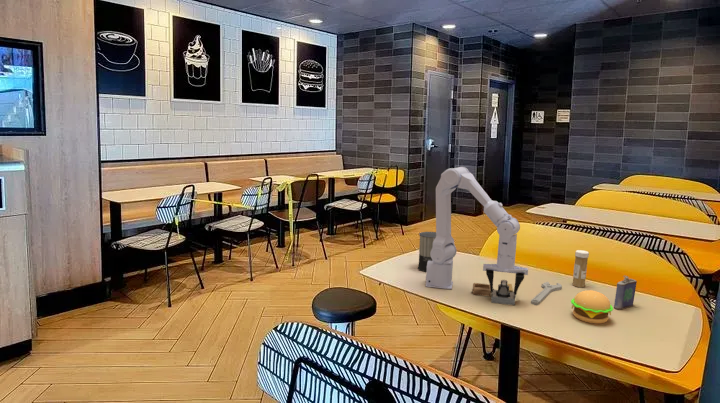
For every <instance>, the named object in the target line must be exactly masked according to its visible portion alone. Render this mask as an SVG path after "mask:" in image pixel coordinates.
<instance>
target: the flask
mask: <svg viewBox="0 0 720 403" xmlns="http://www.w3.org/2000/svg"><path fill="white" fill-rule="evenodd" d="M622 277H623V280H621V281H618V282H617V283H616V288H615V289H616V290H615V298H614V303H613V304H614V305H613V309H615V310H624V309H627V308H630V307H634V300H635V296H636V288H637V284H638V283H637V280H636V279H633V278H629V276H627V275H623V276H622Z"/></svg>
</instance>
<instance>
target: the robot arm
mask: <svg viewBox="0 0 720 403" xmlns="http://www.w3.org/2000/svg"><path fill="white" fill-rule="evenodd" d="M457 188H458V189H463V190H467V191H468V192H469V193H471V195H472V196H473V197H474V198H475V199H476V200H477V201H478V202H479V203H480V204H481V205H482V206H483V213H484V214H485V215H486V216H487V217H488V219H489V220H490V221H491V223H493V225H494V226H495V227H496V231H497V234H498V236H499V237H498V244H497V246H498V247H497V258H496V260H497V261H496V263H483V266H482V271H484V272H485V273H486V277H487V279H488V280H487V281H488V282H489V285H490V288H491V292H493V290H494V275H495V274H494V273H495V272H499V273H506V274H507V273H509V274H510V273H511V274H515V278H514V280H515V281H514V282H515V283H514V288H513V291H514V295H516V296H517V293H518V290H519V287H520V285H521V284H522V282H523V281H524V279H525V276H528V275H529V268H528V267H523V266H522V267H521V266H516V265H515V263H516V262H515V261H516V252H517V251H516V250H517V239H518V238H517V237H518V233H519V231H520V229H521V225H520V222H519V221H518V219H517V218H516V217H513V215H512V214H509V213H508V212H507V211H506V209H505V208H504V207H503V203H502V202H498V201H497V200H492V198H490V196H489V195H488V193H487V192H486V191H485V190H484V189H483V187H482V186H481V185H480V183H479V182H478V180H476V177H475V176H474V174H473V173H471V172H470V170H469V169H468V168H467V167H465V166H458V167H454V168H453V167H451V168H447V169H445V170H444V171H443V172H442V173H441V174H440V178H439V180H438V182H437V185H436V186H435V232H436V238H435V239H434V241H433V247H432V250H431V252H430V256H431V258H432V260H433V261H428V262H427V272H425V287H427V288H434V289H435V288H436V289H445V290H452V289H453V285H454V281H453V280H452V279H453V266H454V263H453V262H454V258H455V256H456V255H457V247H456V244H455V239H454V238H453V236H452V202H451V201H452V193H453V192H454V191H455V190H456V189H457Z"/></svg>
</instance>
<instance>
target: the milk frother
mask: <svg viewBox="0 0 720 403" xmlns="http://www.w3.org/2000/svg"><path fill="white" fill-rule="evenodd" d="M418 235H419V248H418V250H419V251H418V264H417V265H418V266H417V270H419V271H421V272H425V273H426V272H427V262H428V261H433V260H432V258H431V256H430V252H431V250H432V247H433V241H434V239H435V238H436V231H423V232H422V231H421V232H419V233H418Z"/></svg>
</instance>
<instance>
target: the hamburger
mask: <svg viewBox="0 0 720 403" xmlns="http://www.w3.org/2000/svg"><path fill="white" fill-rule="evenodd" d="M570 303H571V309H572V313H573V316H574V317H575V318H577V319H578V320H580V321H582V322H584V323H590V324H604V323H607V321H608V320H609V316H611V315H612V312H613V310H614V306H613V305H612V304H611V302H610V299H609V298H608V297H607V296H606V295H605V294H603V293H602V292H598V291H597V290H588V289H587V290H583V291H580V292H578V293H577V294H576V295H575V296H574V298H572V299H571V300H570Z"/></svg>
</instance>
